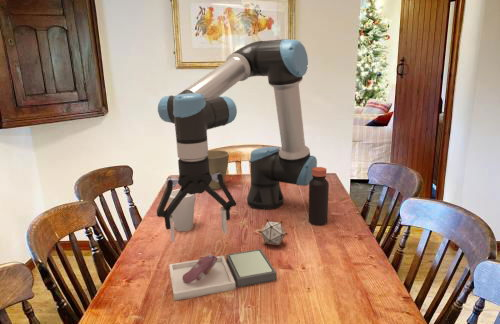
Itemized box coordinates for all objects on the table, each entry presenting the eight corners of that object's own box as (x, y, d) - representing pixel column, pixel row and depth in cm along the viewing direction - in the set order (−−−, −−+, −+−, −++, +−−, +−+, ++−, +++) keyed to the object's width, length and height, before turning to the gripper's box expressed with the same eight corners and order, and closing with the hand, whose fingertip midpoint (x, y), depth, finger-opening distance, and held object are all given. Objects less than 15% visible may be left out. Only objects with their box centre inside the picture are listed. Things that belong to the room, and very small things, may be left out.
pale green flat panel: (259, 253, 112) (259, 250, 112) (272, 274, 101) (272, 271, 100) (229, 258, 109) (229, 255, 109) (240, 280, 98) (240, 277, 98)
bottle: (308, 217, 140) (310, 165, 135) (327, 218, 139) (329, 166, 134) (307, 225, 134) (308, 171, 129) (327, 226, 132) (329, 171, 127)
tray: (223, 261, 111) (223, 255, 110) (235, 289, 97) (235, 282, 97) (169, 270, 107) (169, 264, 106) (174, 300, 93) (173, 293, 92)
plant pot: (198, 182, 184) (197, 150, 180) (229, 181, 185) (228, 149, 181) (198, 192, 169) (196, 158, 165) (231, 191, 171) (229, 157, 167)
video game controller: (192, 291, 98) (200, 273, 95) (179, 280, 100) (187, 262, 97) (214, 273, 106) (222, 255, 103) (202, 263, 108) (210, 245, 105)
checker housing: (260, 256, 113) (260, 248, 113) (276, 280, 101) (276, 272, 100) (226, 262, 110) (226, 254, 110) (238, 287, 98) (237, 279, 97)
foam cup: (191, 234, 129) (189, 198, 125) (166, 232, 131) (163, 197, 127) (200, 222, 138) (198, 189, 134) (176, 221, 140) (174, 188, 136)
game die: (278, 252, 123) (296, 228, 122) (271, 255, 115) (290, 230, 114) (257, 235, 125) (274, 211, 124) (249, 237, 118) (268, 212, 117)
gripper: (238, 149, 100) (241, 222, 105) (140, 158, 93) (149, 236, 99) (245, 155, 93) (248, 234, 99) (141, 167, 86) (150, 250, 92)
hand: (199, 235), depth 99 cm, fingers open, 13 cm apart
